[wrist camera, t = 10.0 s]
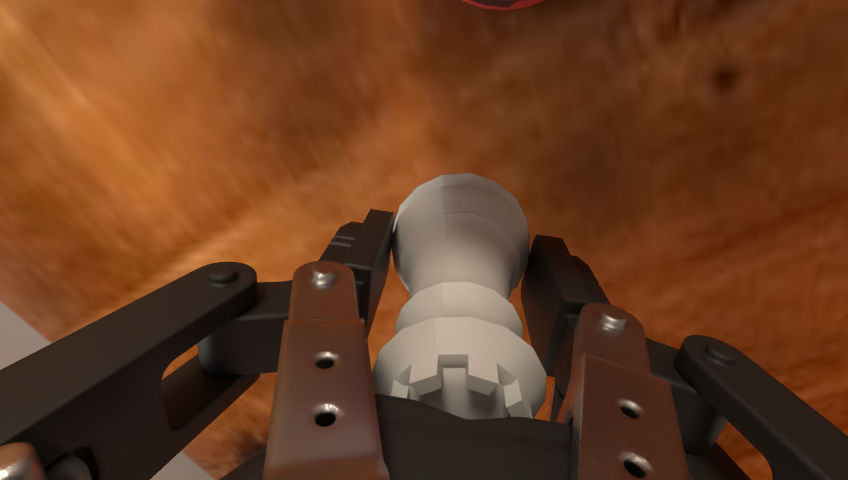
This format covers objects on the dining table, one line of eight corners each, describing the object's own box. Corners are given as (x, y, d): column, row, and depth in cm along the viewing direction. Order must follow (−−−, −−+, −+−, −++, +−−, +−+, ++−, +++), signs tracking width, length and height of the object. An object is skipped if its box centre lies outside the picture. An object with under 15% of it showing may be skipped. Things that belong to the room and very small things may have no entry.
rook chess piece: (377, 187, 14) (281, 350, 6) (512, 152, 13) (576, 294, 6) (416, 298, 15) (375, 523, 8) (537, 274, 15) (610, 502, 7)
